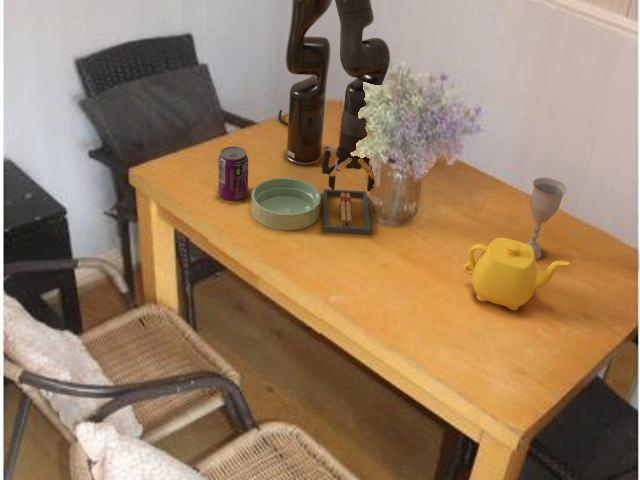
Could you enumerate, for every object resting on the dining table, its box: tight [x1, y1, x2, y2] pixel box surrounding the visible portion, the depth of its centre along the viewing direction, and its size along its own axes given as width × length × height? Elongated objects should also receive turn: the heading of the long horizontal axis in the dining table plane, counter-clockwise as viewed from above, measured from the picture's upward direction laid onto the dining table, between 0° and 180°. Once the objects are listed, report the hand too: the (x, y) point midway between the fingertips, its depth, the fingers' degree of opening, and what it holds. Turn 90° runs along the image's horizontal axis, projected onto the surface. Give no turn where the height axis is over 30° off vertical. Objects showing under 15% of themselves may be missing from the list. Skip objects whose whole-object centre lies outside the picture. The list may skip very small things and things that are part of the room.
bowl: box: [250, 177, 322, 231], centre depth 173 cm, size 16×16×5 cm
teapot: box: [463, 237, 571, 311], centre depth 152 cm, size 14×20×13 cm
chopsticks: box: [339, 192, 353, 227], centre depth 175 cm, size 12×2×2 cm, turn 0°
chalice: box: [524, 177, 568, 260], centre depth 164 cm, size 7×7×18 cm
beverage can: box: [217, 145, 249, 202], centre depth 176 cm, size 7×7×12 cm
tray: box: [323, 188, 371, 236], centre depth 175 cm, size 17×11×2 cm, turn 1°
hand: (350, 188), depth 172 cm, fingers open, 8 cm apart
